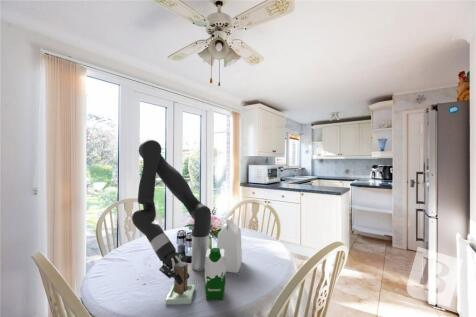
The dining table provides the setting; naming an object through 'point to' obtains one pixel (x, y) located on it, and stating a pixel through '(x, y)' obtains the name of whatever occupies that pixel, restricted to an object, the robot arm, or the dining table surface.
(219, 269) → the milk carton
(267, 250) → the dining table surface
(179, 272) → the brown wooden slotted block
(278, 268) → the dining table surface
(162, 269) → the robot arm
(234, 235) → the milk
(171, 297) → the rest
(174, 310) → the dining table surface
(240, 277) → the dining table surface
